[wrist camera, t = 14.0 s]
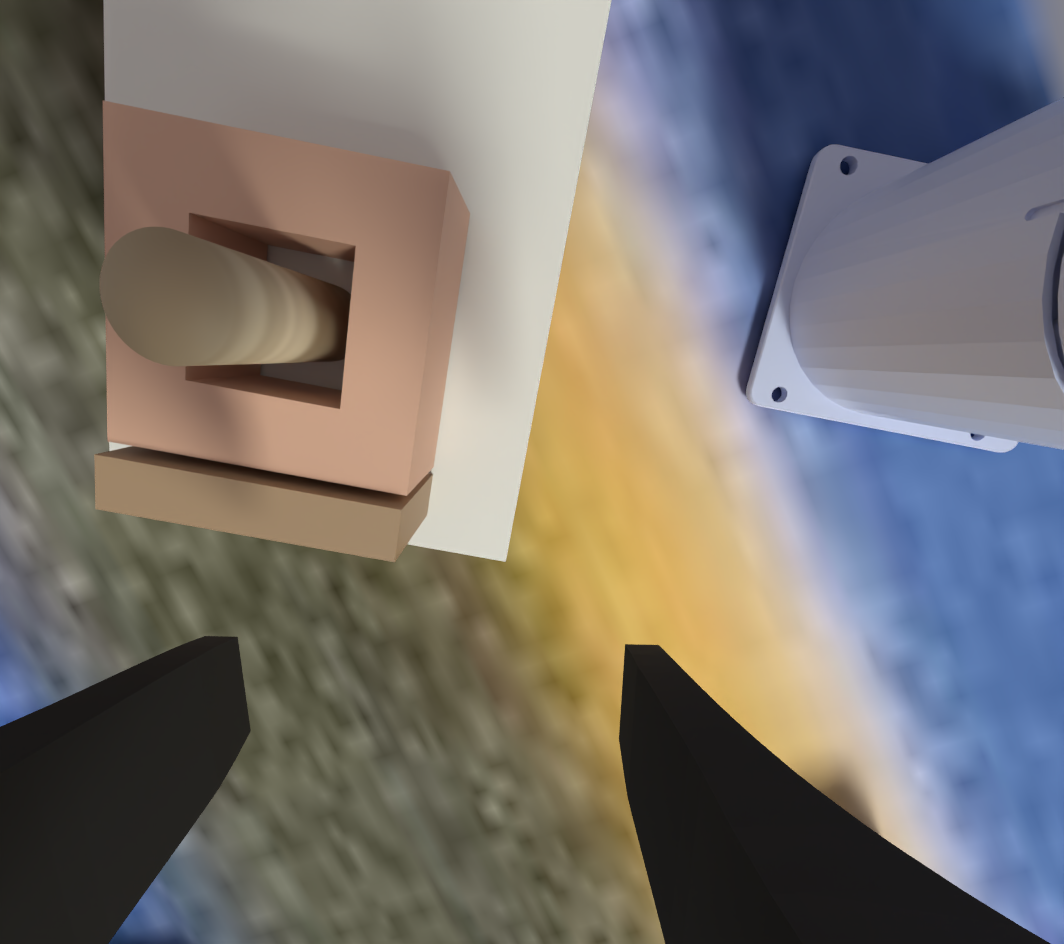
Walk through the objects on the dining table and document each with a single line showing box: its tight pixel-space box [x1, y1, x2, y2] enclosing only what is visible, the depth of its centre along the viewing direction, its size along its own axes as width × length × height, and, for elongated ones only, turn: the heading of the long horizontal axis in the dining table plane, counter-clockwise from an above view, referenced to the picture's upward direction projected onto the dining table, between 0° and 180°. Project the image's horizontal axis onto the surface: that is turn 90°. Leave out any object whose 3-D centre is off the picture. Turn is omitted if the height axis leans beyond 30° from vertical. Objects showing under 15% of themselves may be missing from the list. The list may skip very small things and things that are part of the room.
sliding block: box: [103, 101, 470, 496], centre depth 14 cm, size 8×8×4 cm
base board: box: [95, 0, 611, 562], centre depth 14 cm, size 14×18×5 cm
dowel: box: [100, 227, 351, 366], centre depth 12 cm, size 2×2×7 cm
